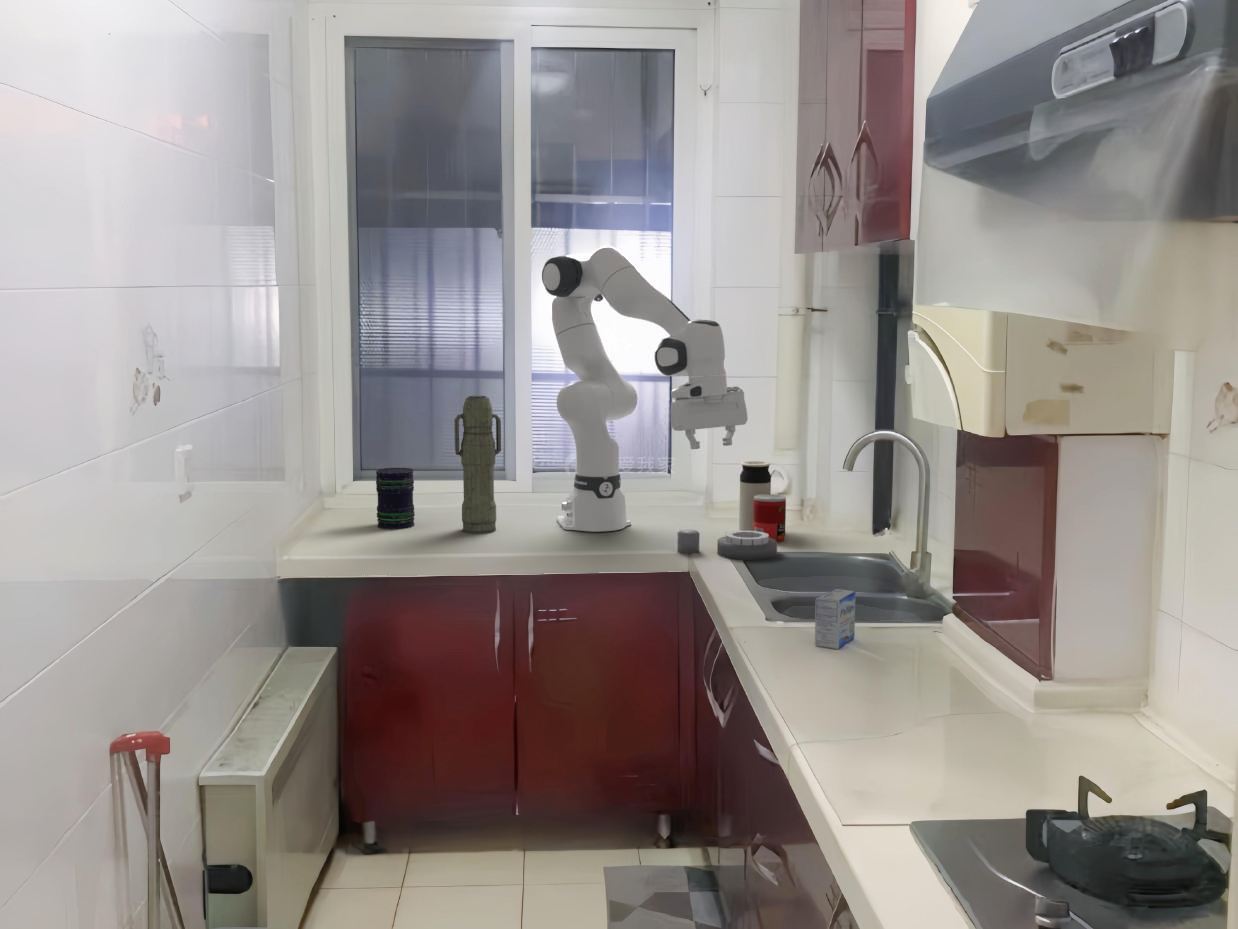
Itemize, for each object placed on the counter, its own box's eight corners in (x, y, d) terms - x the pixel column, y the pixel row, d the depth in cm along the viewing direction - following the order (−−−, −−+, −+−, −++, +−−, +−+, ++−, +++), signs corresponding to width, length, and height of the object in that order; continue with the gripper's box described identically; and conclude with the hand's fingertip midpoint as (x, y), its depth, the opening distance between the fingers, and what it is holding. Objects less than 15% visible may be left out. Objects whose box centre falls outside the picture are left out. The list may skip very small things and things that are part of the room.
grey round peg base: (707, 549, 271) (707, 531, 270) (758, 545, 276) (758, 527, 275) (734, 562, 258) (735, 542, 257) (787, 556, 263) (788, 538, 263)
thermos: (506, 531, 292) (505, 396, 288) (462, 535, 288) (460, 398, 283) (496, 525, 300) (494, 394, 296) (453, 528, 296) (450, 395, 291)
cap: (673, 550, 270) (674, 530, 269) (693, 548, 272) (693, 528, 271) (683, 555, 265) (683, 534, 265) (703, 553, 267) (703, 532, 267)
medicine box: (838, 650, 191) (839, 600, 190) (813, 646, 194) (815, 597, 193) (854, 639, 198) (856, 591, 197) (830, 635, 200) (832, 587, 199)
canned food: (784, 543, 278) (785, 499, 277) (751, 542, 280) (752, 498, 278) (785, 537, 286) (786, 494, 284) (754, 536, 287) (755, 493, 286)
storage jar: (422, 524, 301) (421, 469, 299) (396, 531, 293) (395, 474, 291) (395, 521, 306) (393, 466, 304) (369, 526, 298) (367, 471, 296)
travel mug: (732, 530, 294) (733, 462, 292) (754, 527, 299) (756, 459, 297) (754, 535, 288) (755, 465, 286) (776, 531, 293) (777, 463, 290)
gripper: (734, 386, 273) (738, 443, 274) (665, 391, 262) (668, 450, 263) (751, 385, 267) (754, 443, 268) (680, 390, 257) (684, 451, 258)
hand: (711, 447), depth 266 cm, fingers open, 8 cm apart
